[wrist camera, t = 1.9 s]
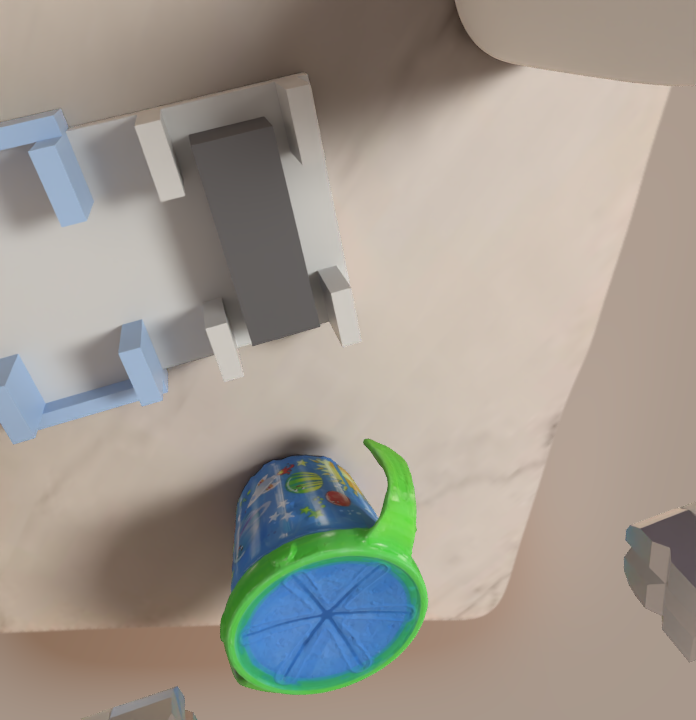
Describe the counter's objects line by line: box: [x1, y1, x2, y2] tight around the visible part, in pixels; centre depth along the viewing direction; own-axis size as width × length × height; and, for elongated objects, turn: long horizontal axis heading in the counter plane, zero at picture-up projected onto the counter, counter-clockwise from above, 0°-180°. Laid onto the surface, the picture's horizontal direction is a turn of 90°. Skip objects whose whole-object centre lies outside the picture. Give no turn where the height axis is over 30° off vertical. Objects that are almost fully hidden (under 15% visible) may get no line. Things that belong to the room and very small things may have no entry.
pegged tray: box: [0, 72, 362, 444], centre depth 28 cm, size 14×18×4 cm
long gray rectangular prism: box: [189, 116, 320, 346], centre depth 29 cm, size 10×3×3 cm, turn 10°
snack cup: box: [220, 439, 428, 695], centre depth 36 cm, size 16×10×10 cm
